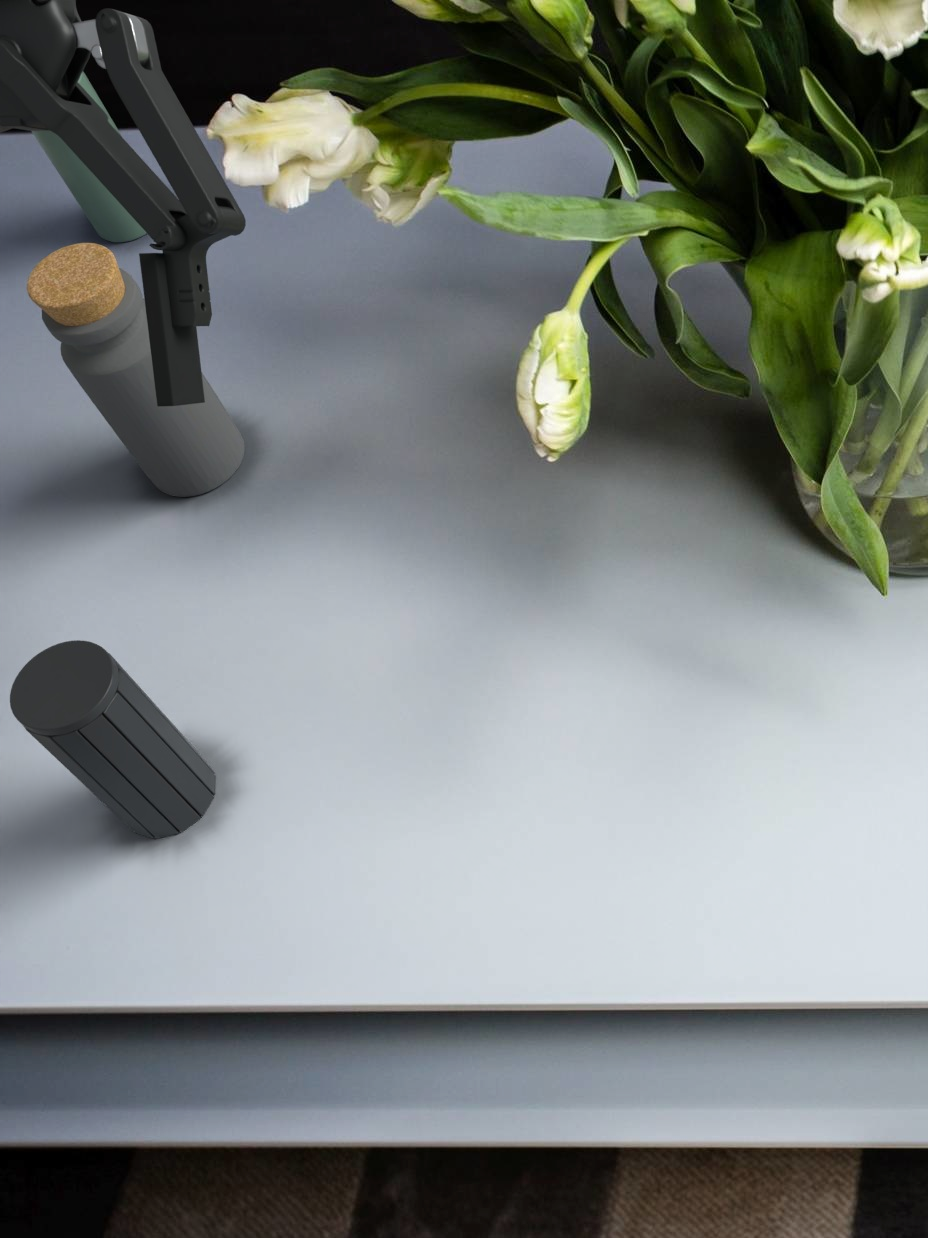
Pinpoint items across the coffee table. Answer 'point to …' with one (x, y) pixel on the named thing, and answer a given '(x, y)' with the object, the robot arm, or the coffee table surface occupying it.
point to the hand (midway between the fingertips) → (40, 408)
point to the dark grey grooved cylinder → (113, 738)
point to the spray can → (90, 184)
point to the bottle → (130, 371)
